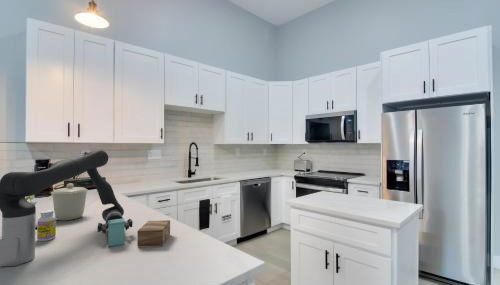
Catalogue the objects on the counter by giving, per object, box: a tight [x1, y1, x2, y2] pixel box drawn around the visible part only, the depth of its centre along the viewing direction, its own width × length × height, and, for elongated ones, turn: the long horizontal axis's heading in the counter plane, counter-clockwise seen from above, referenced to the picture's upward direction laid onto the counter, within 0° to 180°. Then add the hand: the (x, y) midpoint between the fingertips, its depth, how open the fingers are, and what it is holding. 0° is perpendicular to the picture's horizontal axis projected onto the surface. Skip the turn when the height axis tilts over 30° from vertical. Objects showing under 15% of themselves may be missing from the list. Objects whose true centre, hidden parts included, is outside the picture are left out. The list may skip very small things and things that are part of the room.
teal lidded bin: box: [107, 217, 126, 248], centre depth 109 cm, size 6×6×10 cm
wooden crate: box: [136, 220, 171, 248], centre depth 112 cm, size 14×10×7 cm
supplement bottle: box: [36, 209, 57, 242], centre depth 115 cm, size 7×7×13 cm
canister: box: [50, 182, 89, 221], centre depth 149 cm, size 18×18×21 cm
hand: (116, 229), depth 109 cm, fingers open, 8 cm apart
